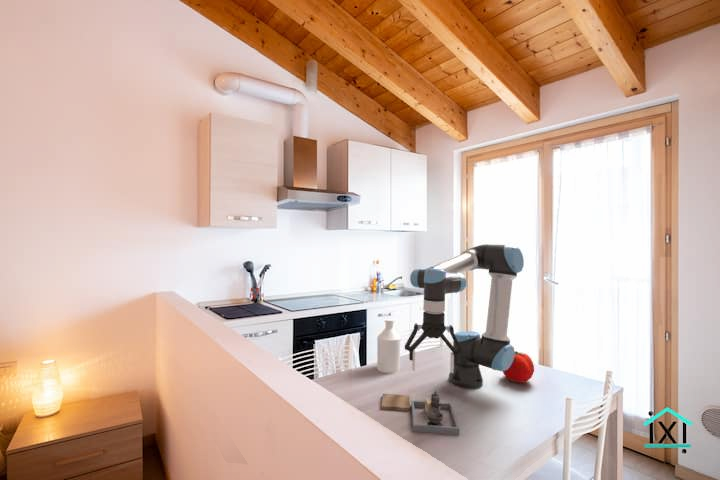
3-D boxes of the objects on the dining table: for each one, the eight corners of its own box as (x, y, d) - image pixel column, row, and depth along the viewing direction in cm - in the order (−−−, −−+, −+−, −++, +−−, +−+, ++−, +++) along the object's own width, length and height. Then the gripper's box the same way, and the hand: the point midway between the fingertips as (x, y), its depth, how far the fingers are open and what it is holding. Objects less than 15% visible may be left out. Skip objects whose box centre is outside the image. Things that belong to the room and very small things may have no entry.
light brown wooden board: (409, 398, 147) (409, 395, 147) (410, 411, 136) (410, 408, 136) (382, 396, 148) (382, 393, 148) (381, 409, 138) (381, 406, 137)
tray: (451, 408, 139) (451, 403, 139) (459, 434, 121) (459, 428, 121) (411, 405, 141) (411, 400, 141) (413, 430, 123) (413, 425, 122)
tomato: (497, 374, 175) (497, 346, 175) (525, 375, 175) (526, 347, 174) (509, 387, 159) (510, 357, 159) (540, 388, 159) (541, 358, 159)
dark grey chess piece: (424, 420, 130) (425, 387, 129) (440, 420, 130) (440, 387, 130) (429, 429, 124) (429, 395, 124) (445, 428, 124) (446, 394, 124)
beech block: (436, 409, 138) (436, 398, 138) (439, 415, 134) (440, 403, 134) (425, 409, 138) (425, 398, 138) (428, 415, 133) (428, 403, 133)
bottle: (384, 362, 188) (385, 315, 188) (404, 368, 181) (405, 319, 181) (372, 369, 178) (373, 319, 178) (392, 375, 171) (393, 323, 171)
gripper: (467, 311, 130) (466, 368, 130) (399, 308, 133) (397, 364, 133) (471, 315, 122) (470, 376, 122) (398, 312, 125) (397, 372, 125)
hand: (432, 370), depth 128 cm, fingers open, 13 cm apart
